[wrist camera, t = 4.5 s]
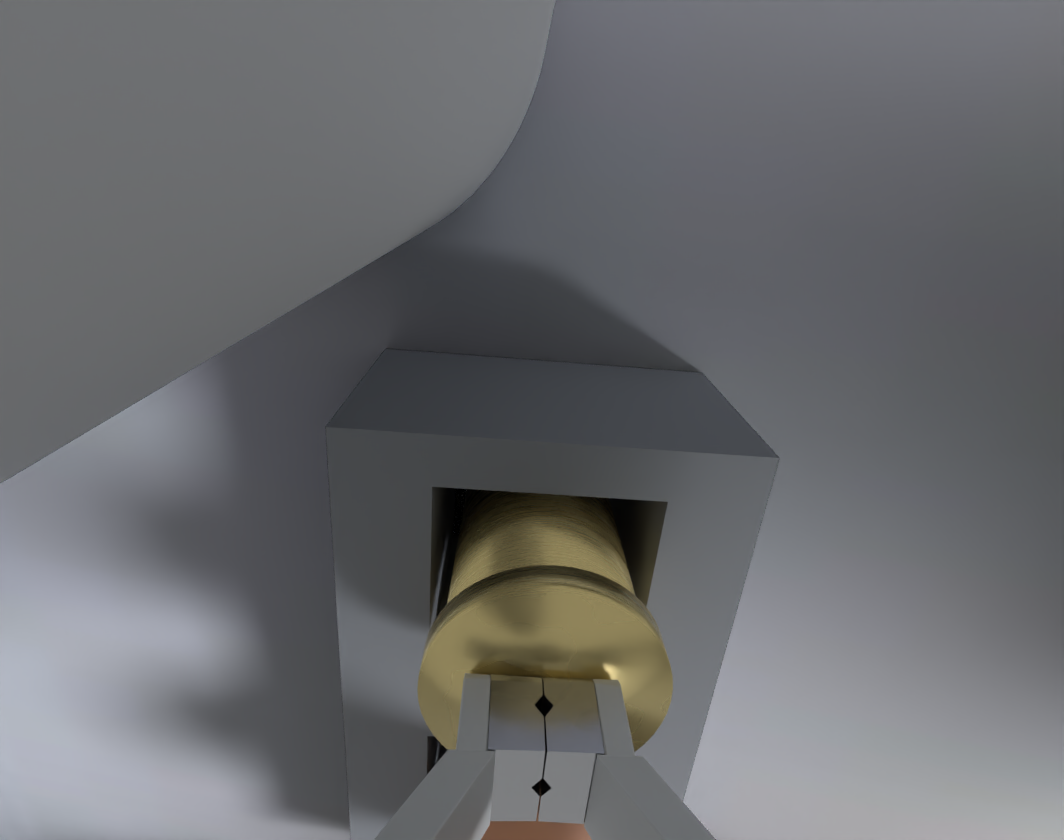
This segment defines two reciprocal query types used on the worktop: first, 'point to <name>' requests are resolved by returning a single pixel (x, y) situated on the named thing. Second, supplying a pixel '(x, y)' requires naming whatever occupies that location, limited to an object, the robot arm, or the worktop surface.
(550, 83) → the worktop surface
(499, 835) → the plug
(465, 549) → the plug
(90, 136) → the cylinder vase
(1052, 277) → the worktop surface
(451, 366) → the grey plug holder block
